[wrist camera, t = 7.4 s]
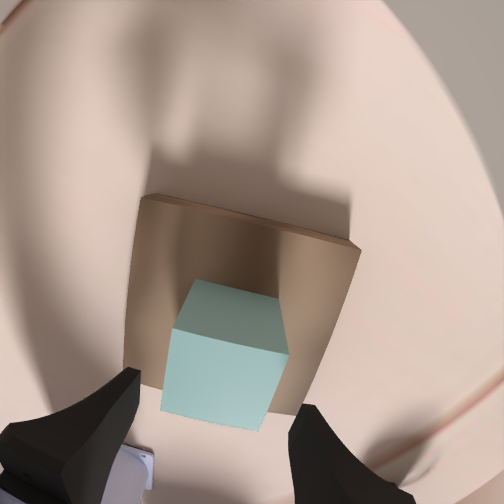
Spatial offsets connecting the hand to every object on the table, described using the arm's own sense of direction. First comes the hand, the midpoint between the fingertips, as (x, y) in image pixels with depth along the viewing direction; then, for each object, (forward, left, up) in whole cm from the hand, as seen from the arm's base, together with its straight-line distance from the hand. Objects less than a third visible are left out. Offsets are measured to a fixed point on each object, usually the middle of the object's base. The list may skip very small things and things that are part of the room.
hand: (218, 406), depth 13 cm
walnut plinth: (0, 0, -9) cm, 9 cm away
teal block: (0, 0, -7) cm, 7 cm away
